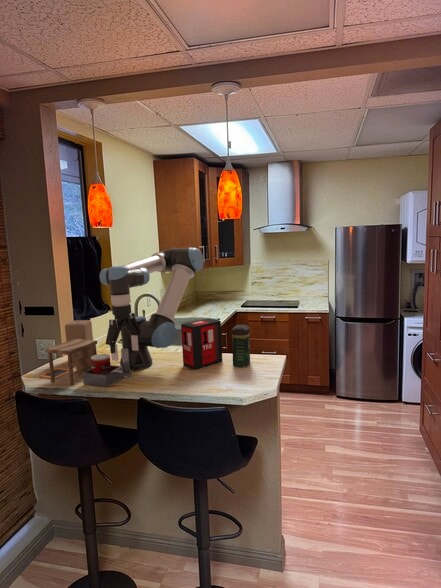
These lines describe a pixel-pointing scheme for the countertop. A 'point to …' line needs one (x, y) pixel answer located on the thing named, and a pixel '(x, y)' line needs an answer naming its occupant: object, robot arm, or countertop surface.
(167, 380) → the countertop surface
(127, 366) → the gray open tray
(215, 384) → the countertop surface
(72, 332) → the wooden block
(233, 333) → the coffee jar
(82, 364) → the small wooden table
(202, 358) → the cleaning product box
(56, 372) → the frame
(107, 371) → the canned food
